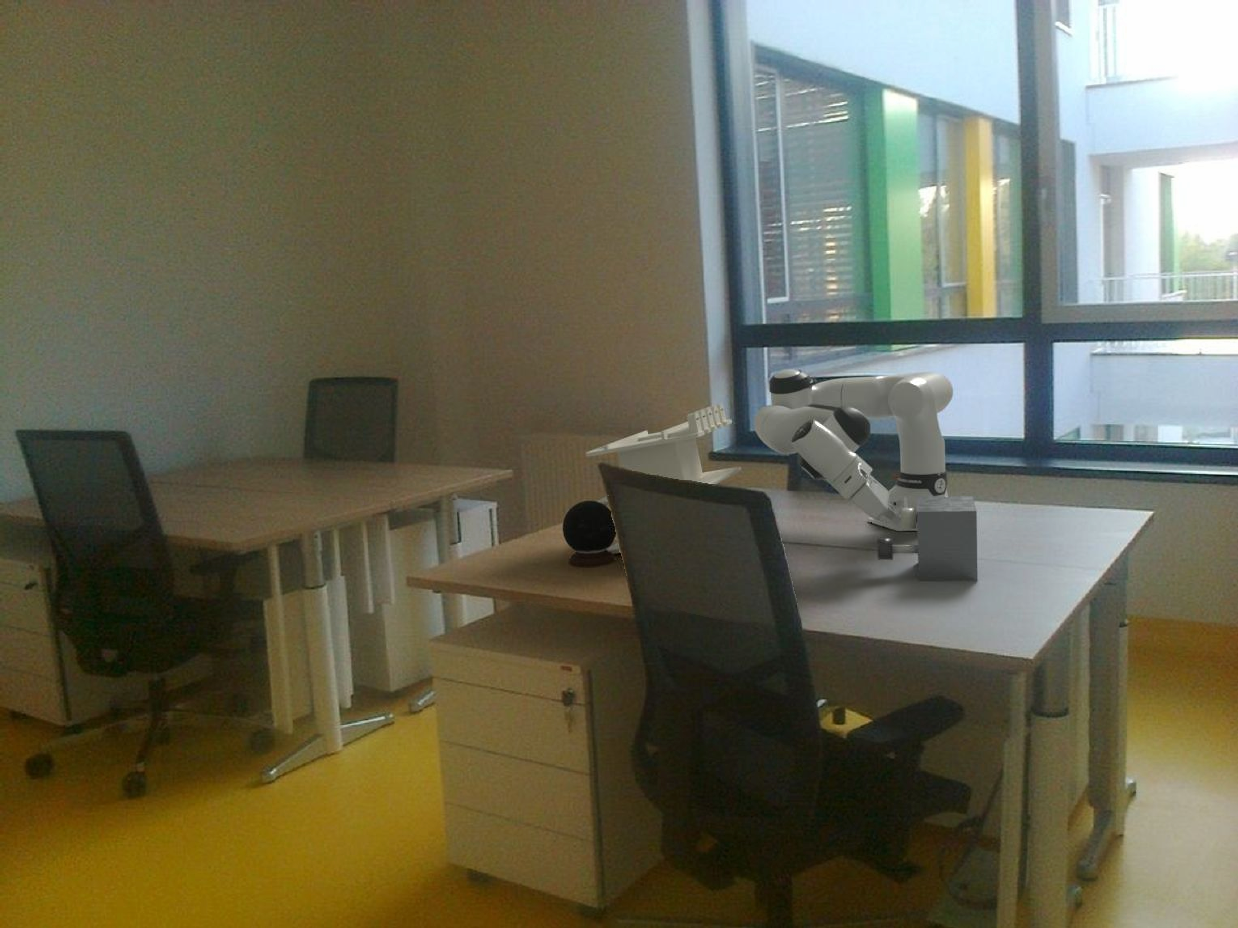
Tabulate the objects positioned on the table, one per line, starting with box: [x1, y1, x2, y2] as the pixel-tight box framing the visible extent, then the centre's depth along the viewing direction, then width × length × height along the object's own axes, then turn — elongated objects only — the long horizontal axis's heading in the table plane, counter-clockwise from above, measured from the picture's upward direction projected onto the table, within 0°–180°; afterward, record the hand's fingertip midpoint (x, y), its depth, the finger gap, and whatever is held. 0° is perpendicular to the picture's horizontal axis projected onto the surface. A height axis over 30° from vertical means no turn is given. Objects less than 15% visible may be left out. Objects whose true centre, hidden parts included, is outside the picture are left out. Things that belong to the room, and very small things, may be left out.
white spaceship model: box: [585, 403, 743, 555], centre depth 292 cm, size 26×31×35 cm
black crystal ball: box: [562, 500, 617, 568], centre depth 281 cm, size 13×13×15 cm
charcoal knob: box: [877, 537, 918, 561], centre depth 250 cm, size 10×5×5 cm, turn 76°
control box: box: [916, 495, 978, 582], centre depth 251 cm, size 12×16×15 cm
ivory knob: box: [902, 508, 917, 529], centre depth 256 cm, size 10×5×5 cm, turn 76°
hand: (899, 521), depth 257 cm, fingers closed, pressing on ivory knob
